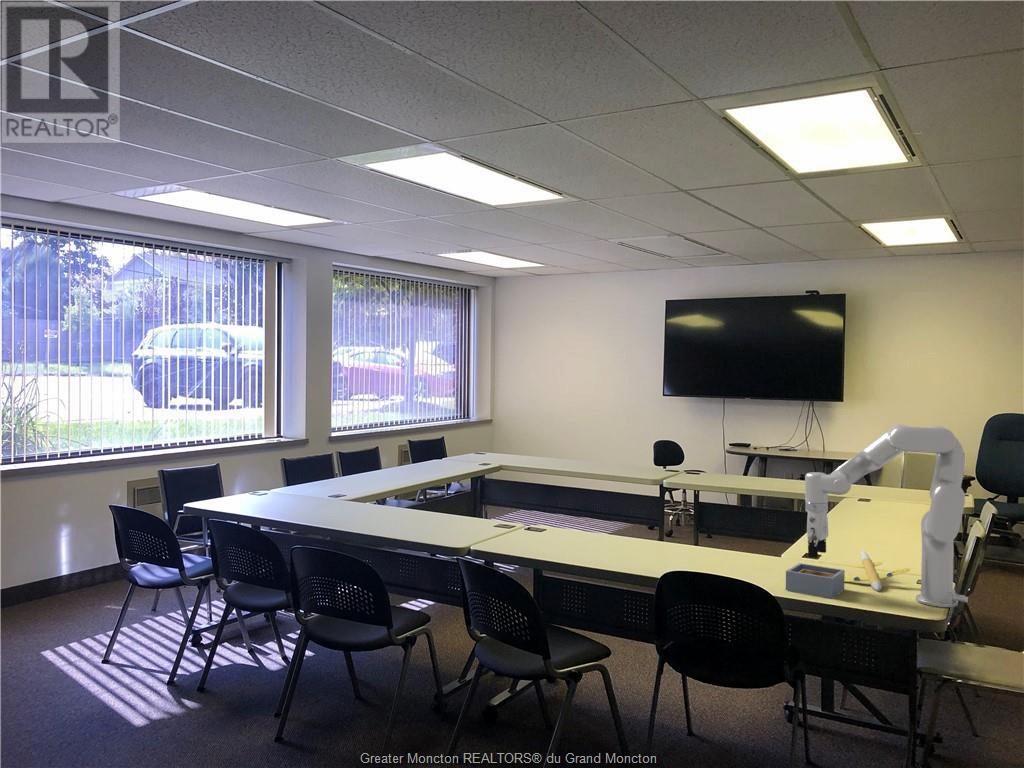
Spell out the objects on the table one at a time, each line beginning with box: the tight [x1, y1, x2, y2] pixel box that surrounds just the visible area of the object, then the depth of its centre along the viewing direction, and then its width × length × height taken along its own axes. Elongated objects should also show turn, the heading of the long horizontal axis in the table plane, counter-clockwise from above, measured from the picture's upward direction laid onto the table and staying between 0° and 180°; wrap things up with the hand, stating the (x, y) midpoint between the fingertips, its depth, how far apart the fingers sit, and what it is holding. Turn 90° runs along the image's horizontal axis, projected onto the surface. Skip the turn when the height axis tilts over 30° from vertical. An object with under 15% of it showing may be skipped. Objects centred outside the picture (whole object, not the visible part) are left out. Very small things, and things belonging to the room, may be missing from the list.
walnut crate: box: [799, 569, 834, 577], centre depth 279 cm, size 11×6×5 cm, turn 52°
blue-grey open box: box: [785, 562, 846, 599], centre depth 279 cm, size 16×15×7 cm
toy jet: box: [844, 550, 911, 592], centre depth 291 cm, size 26×7×30 cm
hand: (817, 554), depth 278 cm, fingers open, 9 cm apart
